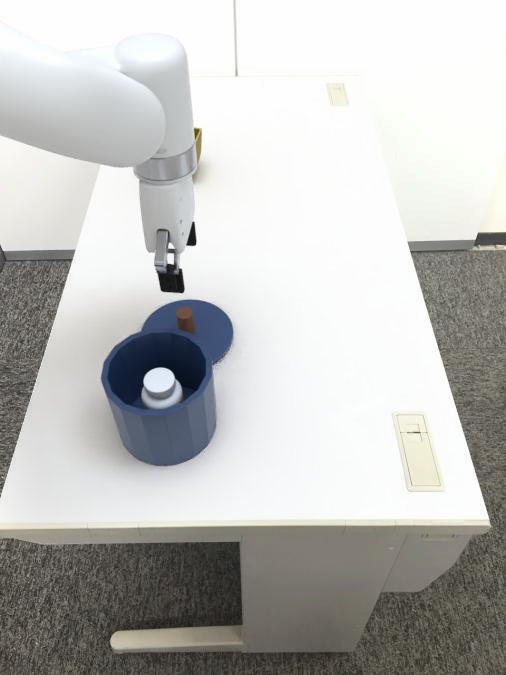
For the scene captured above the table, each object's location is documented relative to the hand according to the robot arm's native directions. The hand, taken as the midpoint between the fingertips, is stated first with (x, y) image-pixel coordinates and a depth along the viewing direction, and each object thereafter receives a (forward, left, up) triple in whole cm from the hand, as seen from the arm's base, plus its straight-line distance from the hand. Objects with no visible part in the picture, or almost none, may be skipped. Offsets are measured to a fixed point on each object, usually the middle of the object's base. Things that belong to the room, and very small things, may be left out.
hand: (179, 266), depth 75 cm
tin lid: (0, 0, -15) cm, 15 cm away
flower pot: (+15, +45, -15) cm, 50 cm away
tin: (-8, -14, -15) cm, 22 cm away
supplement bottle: (-8, -14, -15) cm, 22 cm away
